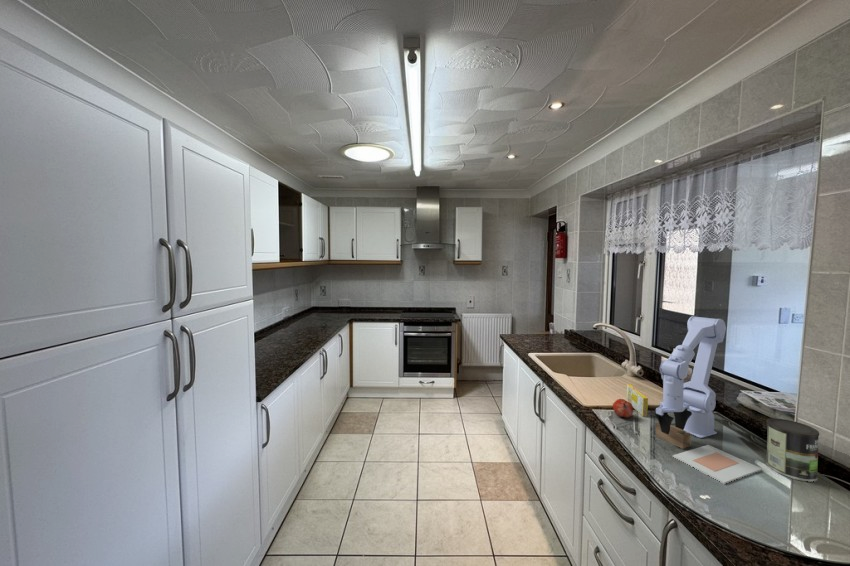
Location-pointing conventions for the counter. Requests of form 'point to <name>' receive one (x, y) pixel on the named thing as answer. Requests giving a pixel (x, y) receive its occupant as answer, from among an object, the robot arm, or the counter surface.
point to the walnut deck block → (674, 436)
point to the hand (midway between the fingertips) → (672, 430)
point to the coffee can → (792, 449)
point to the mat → (717, 463)
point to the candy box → (637, 400)
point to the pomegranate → (623, 408)
